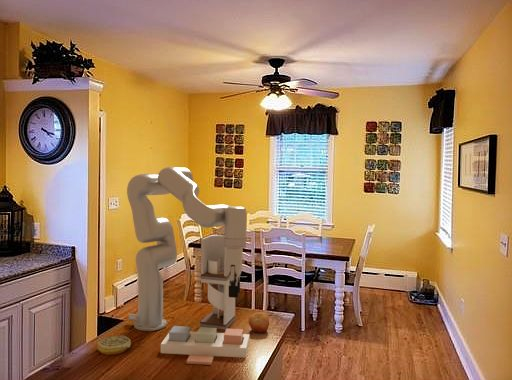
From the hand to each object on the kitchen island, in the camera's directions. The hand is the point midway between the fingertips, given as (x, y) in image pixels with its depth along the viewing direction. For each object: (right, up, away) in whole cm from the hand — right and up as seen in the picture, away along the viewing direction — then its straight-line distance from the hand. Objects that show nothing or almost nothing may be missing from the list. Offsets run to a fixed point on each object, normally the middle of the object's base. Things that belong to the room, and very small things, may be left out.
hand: (234, 294), depth 147 cm
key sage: (-10, -16, +2) cm, 19 cm away
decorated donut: (-41, -19, -1) cm, 45 cm away
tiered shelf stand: (-8, -18, +26) cm, 32 cm away
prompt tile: (-11, -20, -8) cm, 24 cm away
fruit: (+9, -19, +18) cm, 28 cm away
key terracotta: (0, -16, +1) cm, 16 cm away
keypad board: (-10, -19, +2) cm, 22 cm away
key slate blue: (-19, -16, +2) cm, 25 cm away
